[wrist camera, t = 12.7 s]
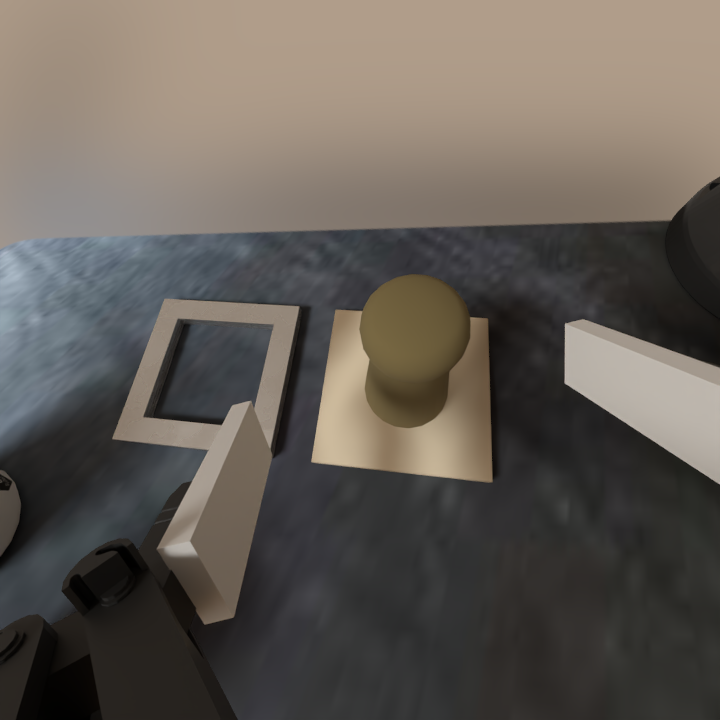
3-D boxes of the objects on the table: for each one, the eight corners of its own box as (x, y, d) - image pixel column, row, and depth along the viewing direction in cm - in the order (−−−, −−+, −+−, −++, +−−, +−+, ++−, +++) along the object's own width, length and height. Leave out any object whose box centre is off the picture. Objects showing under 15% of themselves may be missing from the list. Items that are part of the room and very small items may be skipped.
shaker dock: (302, 312, 29) (299, 306, 28) (273, 458, 24) (268, 456, 24) (171, 304, 30) (164, 298, 29) (122, 441, 26) (112, 438, 25)
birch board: (485, 323, 27) (487, 318, 26) (489, 482, 23) (492, 482, 22) (337, 314, 29) (335, 309, 28) (313, 462, 24) (311, 461, 23)
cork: (466, 393, 24) (520, 317, 14) (400, 446, 23) (407, 406, 13) (410, 334, 26) (423, 231, 16) (348, 380, 25) (319, 302, 15)
